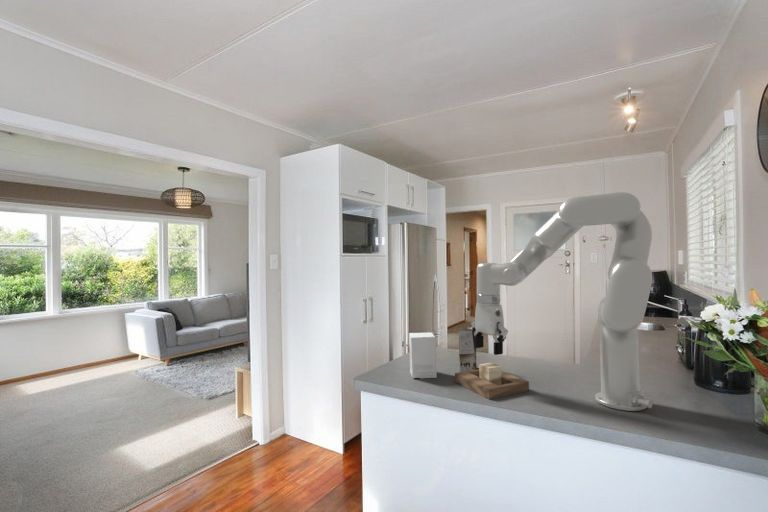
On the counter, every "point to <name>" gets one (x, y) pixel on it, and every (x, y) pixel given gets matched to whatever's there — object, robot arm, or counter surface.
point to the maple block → (490, 373)
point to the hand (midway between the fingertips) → (488, 350)
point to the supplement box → (422, 355)
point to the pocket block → (489, 389)
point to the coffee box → (467, 349)
